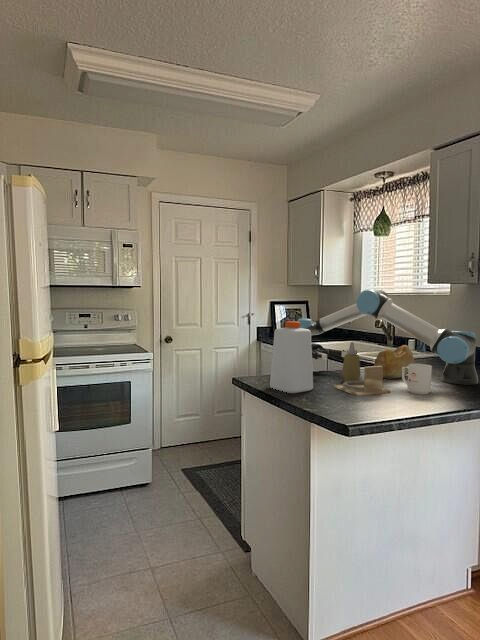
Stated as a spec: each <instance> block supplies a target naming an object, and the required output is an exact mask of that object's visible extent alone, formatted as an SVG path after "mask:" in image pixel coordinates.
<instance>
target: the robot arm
mask: <svg viewBox="0 0 480 640" xmlns="http://www.w3.org/2000/svg"><path fill="white" fill-rule="evenodd" d="M365 316H368V317H370V316H371V317H372V318H374V319H376V320H377V321H381V320H383V321H386V322H387V323H389V324H391V325H393V326H394V327H397V328H398V329H399V330H402V331H404V333H406V334H408V335H410V336H412V337H413V338H415V339H417V340H419V341H420V342H422V343H424V344H426V346H429V347H430V351H431V352H432V353H434V354H436V355H438V356H439V358H440V359H441V361H444V363H445V366H444V368H443V369H444V370H443V372H442V373H441V381H443V382H445V383H449V384H455V385H464V386H465V385H468V386H472V385H473V386H474V385H478V384H479V377H478V373H477V370H476V367H475V365H476V363H475V361H476V348H477V347H476V345H477V334H476V333H475V332H473V331H472V332H470V331H458V330H449V329H448V328H442V329H440V328H438V327H437V326H435V325H433V324H432V323H430V322H428V321H426V320H424V319H422V318H421V317H419V316H416V315H415V314H413V313H411V312H410V311H408V310H406V309H404V308H402V307H401V306H398V305H397V304H395V303H394V302H393V298H391V297H390V296H389V295H388V293H387V292H385V291H384V290H381V289H372V288H371V289H369V288H368V289H365V290H363V291H361V292H360V293H359V294H358V295H357V297H356V303H354V304H351V305H349V306H347V307H345V308H343V309H340V310H338V311H335V312H333V313H330V314H328V315H326V316H324V317H320V318H319V319H316V320H312V319H311V318H298V319H297V322H300V327H299V328H304V329H309V330H310V331H311V337H312V336H318V335H321V334H323V333H325V332H327V331H330V330H332V329H334V328H337V327H339V326H342V325H345V324H347V323H350V322H352V321H356V320H357V319H360V318H362V317H365ZM311 346H312V359H314V360H318V359H319V360H324V361H328V357H331V356H334V357H341V358H344V356H345V355H346V354H347V350H344V349H343V350H339V349H333V348H332V349H331V348H324V347H323V345H322V344H319V343H315V342H311Z"/></svg>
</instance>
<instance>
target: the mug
mask: <svg viewBox="0 0 480 640" xmlns="http://www.w3.org/2000/svg"><path fill="white" fill-rule="evenodd" d="M405 368H408V374H407V380H406V377H405V376H406V375H405ZM432 371H433V366H432V365H430V364H424V363H414V364H409V365H408V367H402V377H401V379H402V381H403V383H405V385H406V386H407V390H408V392H409V393H411V394H414V395H428V394H429V393H431V391H432V375H433V372H432Z"/></svg>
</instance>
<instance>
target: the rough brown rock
mask: <svg viewBox="0 0 480 640" xmlns="http://www.w3.org/2000/svg"><path fill="white" fill-rule="evenodd" d="M409 364H415V358H414V354H413V352H412V350H411V349H410V347H409V345H407V344H403V345H401V346H399V347H396V349H395V350H391V349H386V350H382V351H379V352H378V354H377V356H376V357H375V359H374V363H373V366H383V379H385V380H390V379H391V380H392V379H399V378H402V367H408V365H409ZM405 376H408V368H405Z"/></svg>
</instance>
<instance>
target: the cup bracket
mask: <svg viewBox="0 0 480 640" xmlns="http://www.w3.org/2000/svg"><path fill="white" fill-rule="evenodd" d="M363 376H364V377H363V380H358V381H356V380H355V381H346V382H345V381H344V382H343V383H342V384H333V388H334V389H337V390H340V391H343V392H346V393H348V394H352V395H354V396H357V397H360V396H361V397H362V396H370V395H379V394H382V395H383V394H390V393H391V390H390V389H388V388H387V389H386V388H384V387H383V381H384V380H383V379H384V378H383V366H374V365H372V366H364V373H363Z"/></svg>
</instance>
